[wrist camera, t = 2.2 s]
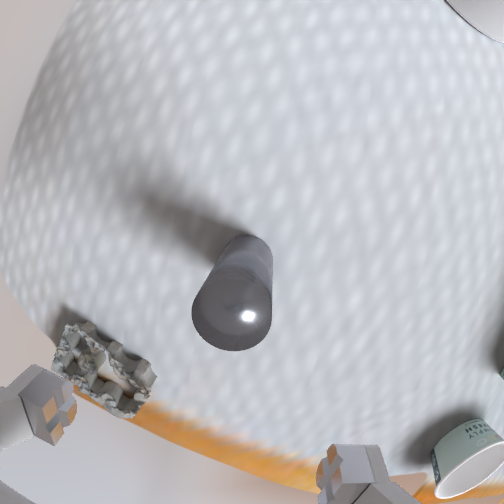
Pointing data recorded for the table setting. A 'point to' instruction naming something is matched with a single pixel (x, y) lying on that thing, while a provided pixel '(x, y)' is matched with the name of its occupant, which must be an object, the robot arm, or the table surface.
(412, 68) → the table surface
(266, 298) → the peg
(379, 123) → the table surface
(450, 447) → the food container
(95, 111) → the table surface
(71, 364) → the egg carton
